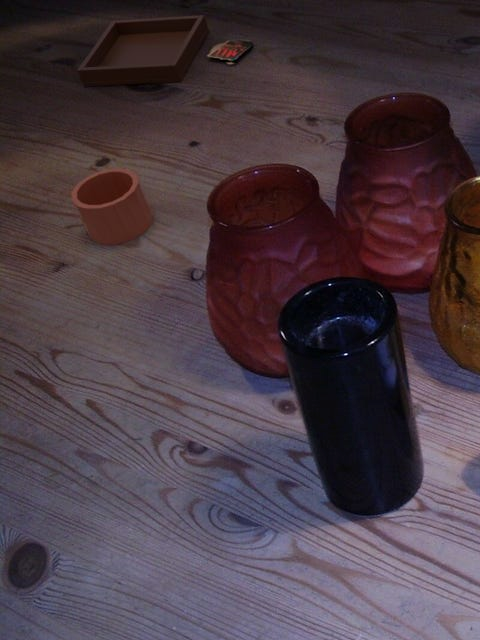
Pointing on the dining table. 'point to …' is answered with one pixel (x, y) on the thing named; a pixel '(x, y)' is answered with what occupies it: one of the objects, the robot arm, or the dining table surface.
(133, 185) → the cup
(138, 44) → the tray
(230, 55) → the matchbox
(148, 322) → the dining table surface
